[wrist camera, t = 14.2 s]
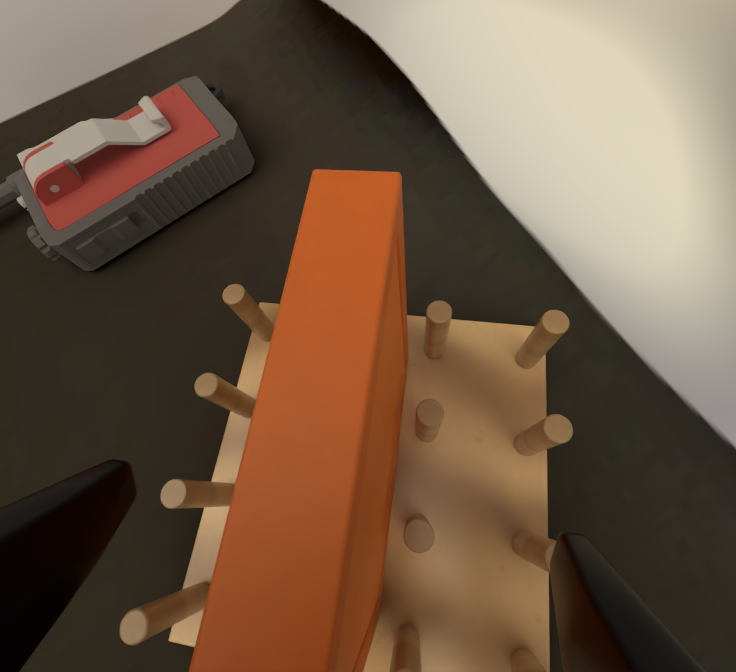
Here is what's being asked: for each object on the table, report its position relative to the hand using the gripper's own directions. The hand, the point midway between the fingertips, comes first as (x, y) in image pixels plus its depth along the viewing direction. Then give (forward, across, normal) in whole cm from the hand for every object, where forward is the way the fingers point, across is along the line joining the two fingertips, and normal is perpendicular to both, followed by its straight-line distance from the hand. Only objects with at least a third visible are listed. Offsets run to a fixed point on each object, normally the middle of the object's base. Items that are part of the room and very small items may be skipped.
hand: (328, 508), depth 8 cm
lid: (+7, 0, +5) cm, 8 cm away
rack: (+7, 0, +5) cm, 9 cm away
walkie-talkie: (+16, +18, -4) cm, 25 cm away
